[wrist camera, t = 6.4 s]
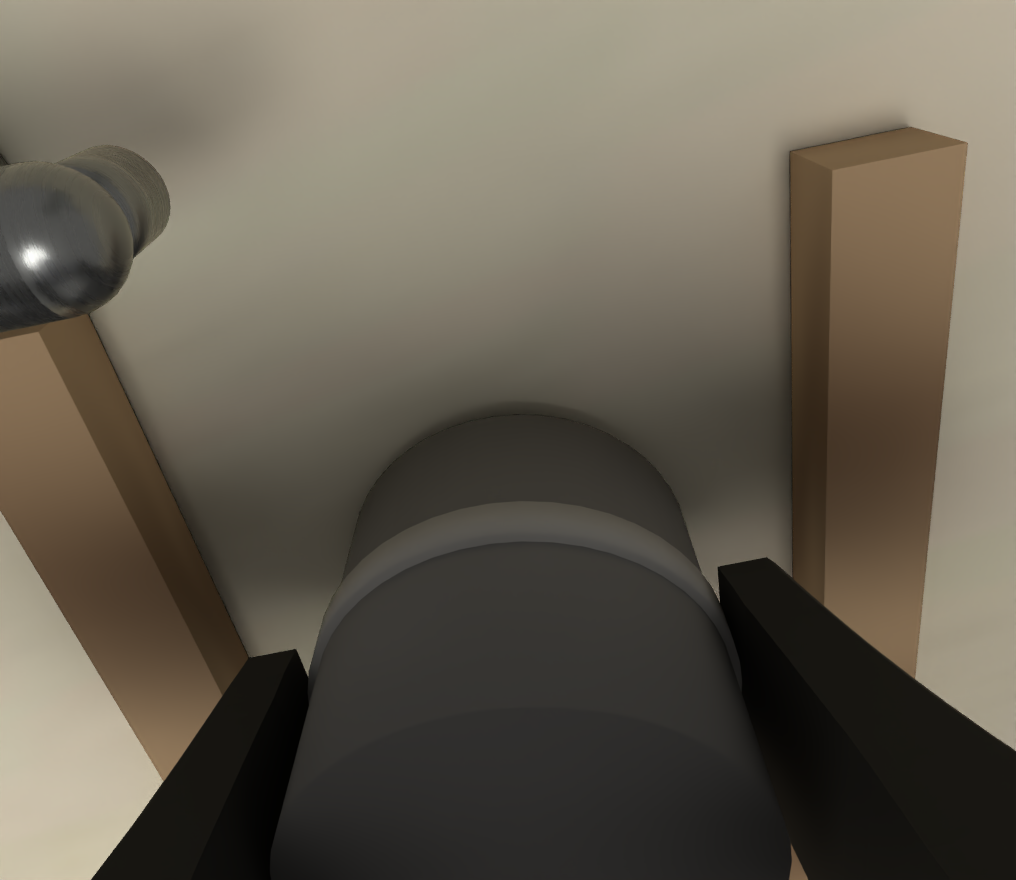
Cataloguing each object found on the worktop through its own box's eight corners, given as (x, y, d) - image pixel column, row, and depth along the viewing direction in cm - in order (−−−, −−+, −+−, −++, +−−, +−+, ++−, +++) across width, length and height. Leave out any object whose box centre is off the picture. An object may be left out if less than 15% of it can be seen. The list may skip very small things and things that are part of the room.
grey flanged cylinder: (718, 645, 13) (826, 979, 9) (416, 710, 14) (376, 1048, 9) (657, 365, 10) (765, 638, 6) (289, 462, 11) (157, 767, 7)
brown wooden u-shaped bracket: (864, 844, 17) (893, 899, 16) (309, 948, 17) (301, 1010, 16) (910, 126, 10) (968, 142, 9) (-37, 320, 10) (-92, 358, 9)
